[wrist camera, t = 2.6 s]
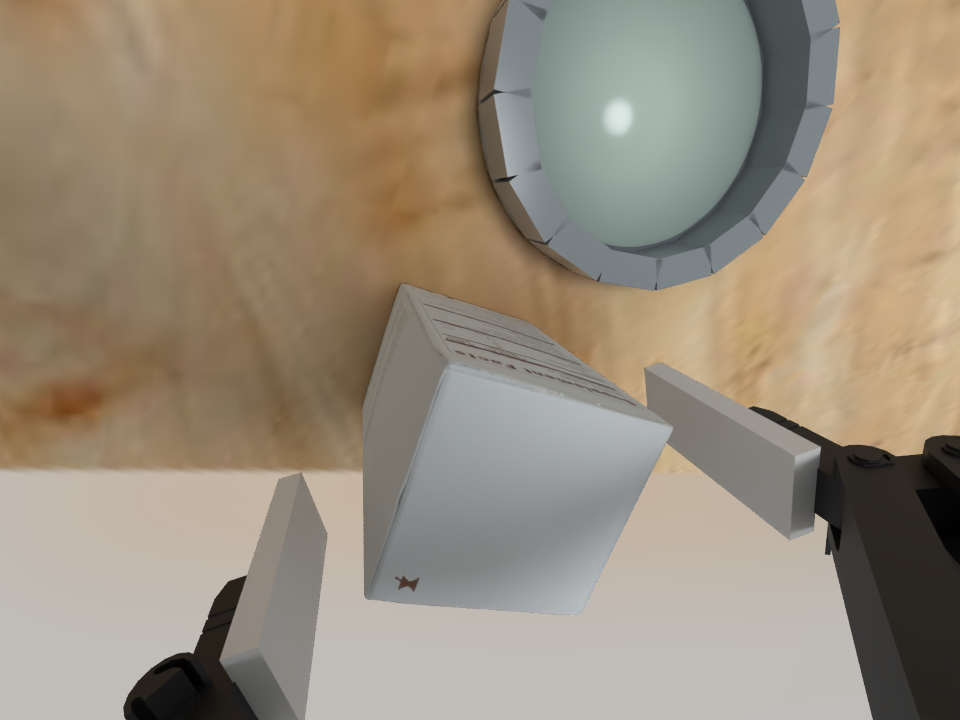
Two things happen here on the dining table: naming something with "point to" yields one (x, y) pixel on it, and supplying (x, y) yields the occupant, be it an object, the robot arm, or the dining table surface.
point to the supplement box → (493, 462)
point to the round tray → (653, 127)
